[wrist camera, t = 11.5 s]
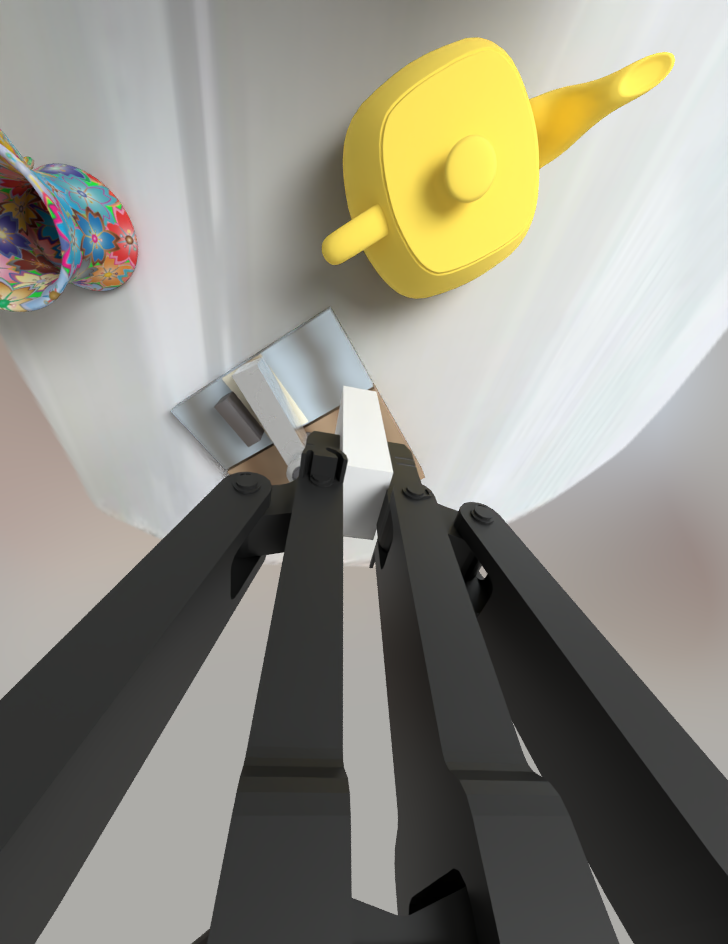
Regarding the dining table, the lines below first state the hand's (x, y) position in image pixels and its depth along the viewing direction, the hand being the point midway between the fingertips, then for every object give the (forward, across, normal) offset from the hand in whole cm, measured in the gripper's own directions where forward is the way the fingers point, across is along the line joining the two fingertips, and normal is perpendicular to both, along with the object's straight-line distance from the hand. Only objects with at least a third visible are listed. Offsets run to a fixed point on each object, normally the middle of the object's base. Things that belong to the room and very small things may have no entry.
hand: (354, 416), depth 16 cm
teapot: (+22, +5, +11) cm, 25 cm away
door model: (+21, -2, -14) cm, 25 cm away
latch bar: (+19, -5, -10) cm, 22 cm away
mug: (+22, -23, +4) cm, 32 cm away
